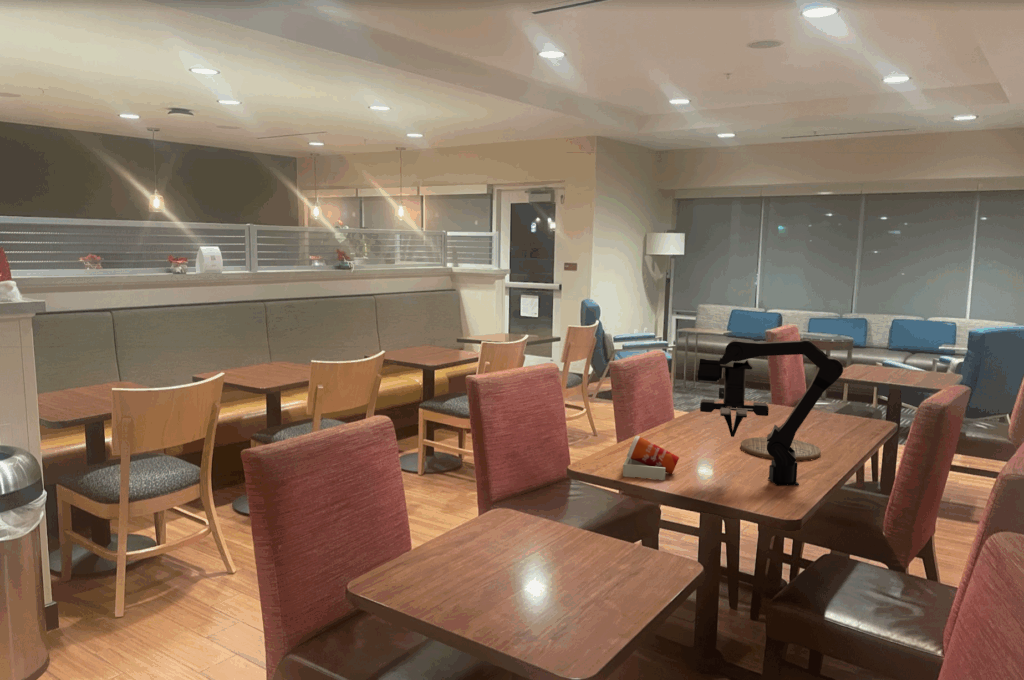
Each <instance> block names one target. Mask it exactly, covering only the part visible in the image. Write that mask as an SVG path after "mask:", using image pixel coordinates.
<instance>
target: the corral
mask: <svg viewBox="0 0 1024 680" xmlns="http://www.w3.org/2000/svg"><path fill="white" fill-rule="evenodd" d="M622 477H626V478H635V477H641V478H640V479H646V478H651V479H650V480H656V479H659V481H666V472H665V467H654V466H648V465H645V464H643V463H641V462H638V461H635V460H633V459H630V458H629V457H627V456H626V458H625V460H624V462H623V463H622Z"/></svg>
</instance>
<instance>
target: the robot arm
mask: <svg viewBox="0 0 1024 680" xmlns="http://www.w3.org/2000/svg"><path fill="white" fill-rule="evenodd" d="M792 355H793V356H794V355H804V356H805V357H806V358H807V359H808V360H809V361H810V362H811V363H813V365H815V366H816V367H817V368H816V370H815V373H814V376H813V378H812V381H811V383H810V384H809V386H808V387H807V389H806V390H805V392H804V393H803V395H802V396H801V397H800V399H799V401H798V402H797V403H796V405H795V407H794V408H793V410H792V411H791V412H790V414H789V415H788V417H787V418H786V420H785V421H784V422H783V423H782V424H781V425H780V426H778V425H776V424H774V426H773V427H772V430H771V431H770V433H768V434H767V436H766V437H767V451H768V453H769V454H770V455H771V456H772V457H773V458H774V460H773V459H770V460H771V461H770V464H769V468H768V471H769V472H768V477H767V479H768V481H770V482H772V483H773V484H775V486H779V487H780V486H781V487H783V486H799V485H800V482H798V481H797V480H798V478H797V476H798V475H797V474H798V461H796V452H795V451H794V450H793V449H792V448H791V447H790V446H791V444H792V441H793V440H795V436H796V433H797V432H798V430H799V428H800V427H801V426H802V424H803V423H804V421H805V419H806V418H807V417H808V415H809V414H810V412H811V411H812V409H813V408H814V407H815V405H816V404H817V402H819V401H818V400H819V399H820V397H821V396H822V395H823V394H824V392H826V390H827V389H829V388H830V387H831V386H832V385H834V383H836V381H837V380H839V378H841V376H842V375H843V373H844V368H843V367H844V366H843V364H842V362H841V361H840V360H839V358H837V357H836V356H833V355H830V356H829V355H828V354H827V353H826V352H824V351H823V350H821V348H819V347H818V346H816V345H815V344H814V343H813V342H812V341H811V340H809V339H808V338H807V339H806V338H805V339H802V340H785V341H781V340H780V341H761V342H759V341H752V340H747V339H746V340H745V339H739V338H738V339H732V340H731V341H729V343H727V345H726V347H725V352H724V354H723V355H721V356H720V358H719V359H714V358H706V357H701V358H699V365H698V369H697V381H698V382H707V383H719V381H720V380H723V377H724V387H719V388H718V400H722V401H723V402H715V399H705V398H703V399H701V400H700V403H699V411H700V412H701V413H712V412H714V410H719V411H720V412H719V414H720V417H724V419H725V422H726V424H727V427H728V431H729V434H730V436H731V438H734V437H735V435H736V433H737V430H738V429H739V426H740V425H741V422H742V420H743V419H744V418H745V419H746V418H748V414H747V413H748V412H751V413H752V412H753V414H755V415H756V416H760V417H768V416H769V406H768V405H769V404H767V403H766V402H757V401H756V402H755V401H754V402H753V404H752V405H751V404H745V398H746V397H745V396H746V393H745V392H746V377H747V376H746V375H747V374H746V372H747V370H752V369H753V368H754V366H753V365H752V363H750V362H749V360H751V359H754V358H757V357H769V356H771V357H772V356H774V357H775V356H792ZM741 361H744V362H741ZM731 362H733V363H732V364H730V363H731ZM723 375H724V376H723ZM731 411H735V415H734V421H732V413H731ZM733 422H734V423H733Z"/></svg>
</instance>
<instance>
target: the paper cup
mask: <svg viewBox="0 0 1024 680" xmlns="http://www.w3.org/2000/svg"><path fill="white" fill-rule="evenodd" d="M628 449H629V450H628V452H627V455H626V458H627V457H629V458H630V459H633V460H635V461H638V462H641V463H643V464H645V465H648V466H654V467H665V474H669V475H673V473H674V471H675V468H676V466H677V464H678V461H679V459H680V457H679V456H678V455H676V454H674V453H672V452H671V451H668V450H666V448H663V447H660V446H659V445H658V444H655V443H653V442H651V441H649V440H647V439H645V438H644V437H641V435H635V437H634V438H633V441H632V442H631V445H630V447H629V448H628Z"/></svg>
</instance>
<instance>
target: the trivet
mask: <svg viewBox="0 0 1024 680" xmlns="http://www.w3.org/2000/svg"><path fill="white" fill-rule="evenodd" d="M790 447H791V448H792V449H793V450H794V451H795V452H796V462H803V461H802V460H808V461H812V460H811V459H814V460H817V459H818V457H819V458H820V457H821V451H822V450H821V448H820V447H819V446H817V445H815V444H814V443H813V444H812V443H810V442H806V441H803V440H798V439H793V441H792V444H791V446H790ZM740 449H742V450H741V451H742V452H744V451H745V452H744V453H746V452H747V453H746V454H748V453H749V454H748V455H751V456H754V457H757V456H758V458H761V457H763V458H762V459H766V458H769V459H768V460H773V459H774V458H773V457H772V456H771V455H770V454H769V453H768V451H767V436H758V437H750V438H745V439H743V440H741V442H740ZM816 458H817V459H816ZM800 460H801V461H800Z"/></svg>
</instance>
